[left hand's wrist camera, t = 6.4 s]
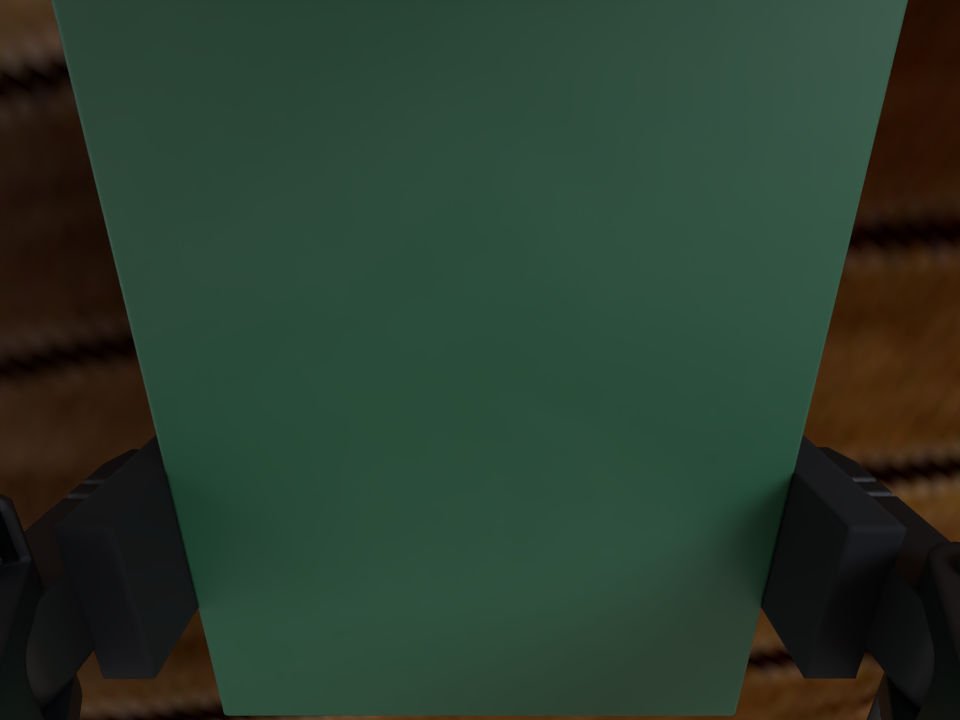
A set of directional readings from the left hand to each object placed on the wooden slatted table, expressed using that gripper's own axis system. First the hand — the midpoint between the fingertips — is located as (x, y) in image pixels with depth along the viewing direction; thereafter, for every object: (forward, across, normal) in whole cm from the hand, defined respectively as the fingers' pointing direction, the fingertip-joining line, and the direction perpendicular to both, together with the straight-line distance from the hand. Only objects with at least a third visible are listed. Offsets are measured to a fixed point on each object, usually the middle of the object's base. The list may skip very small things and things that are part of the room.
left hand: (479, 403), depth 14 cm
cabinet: (+4, 0, -3) cm, 5 cm away
